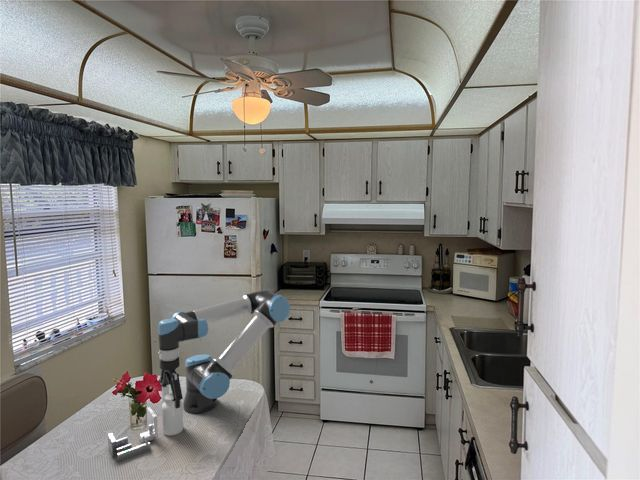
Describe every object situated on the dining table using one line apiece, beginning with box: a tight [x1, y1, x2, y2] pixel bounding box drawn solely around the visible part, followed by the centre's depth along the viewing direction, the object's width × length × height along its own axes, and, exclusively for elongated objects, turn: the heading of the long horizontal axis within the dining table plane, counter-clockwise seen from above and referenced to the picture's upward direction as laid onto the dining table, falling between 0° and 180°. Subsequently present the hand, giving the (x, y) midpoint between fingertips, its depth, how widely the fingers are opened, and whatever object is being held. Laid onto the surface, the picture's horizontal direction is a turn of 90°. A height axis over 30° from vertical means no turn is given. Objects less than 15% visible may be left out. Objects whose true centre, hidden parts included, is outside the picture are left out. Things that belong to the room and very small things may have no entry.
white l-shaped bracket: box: [138, 406, 159, 445], centre depth 162 cm, size 5×12×10 cm, turn 38°
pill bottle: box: [161, 393, 184, 437], centre depth 169 cm, size 8×8×15 cm
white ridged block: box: [107, 432, 152, 462], centre depth 157 cm, size 12×10×6 cm
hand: (171, 408), depth 168 cm, fingers open, 13 cm apart
